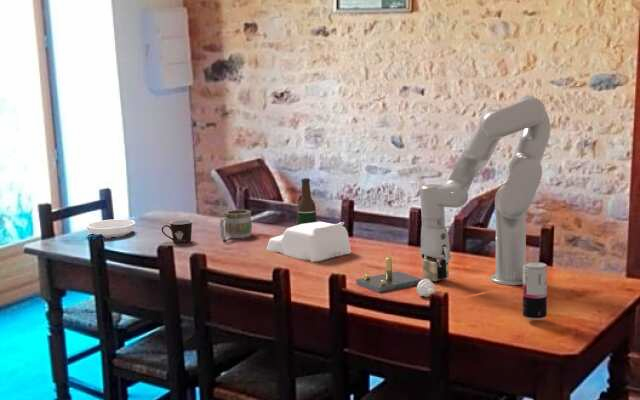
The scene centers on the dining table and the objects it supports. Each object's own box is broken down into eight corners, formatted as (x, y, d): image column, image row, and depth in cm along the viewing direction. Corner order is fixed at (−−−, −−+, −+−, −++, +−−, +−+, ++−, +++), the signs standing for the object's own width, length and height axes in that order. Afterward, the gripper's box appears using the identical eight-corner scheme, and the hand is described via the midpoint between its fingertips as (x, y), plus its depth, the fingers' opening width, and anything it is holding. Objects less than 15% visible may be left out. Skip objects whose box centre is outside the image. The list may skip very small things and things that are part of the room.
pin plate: (422, 283, 294) (422, 258, 292) (379, 292, 285) (378, 266, 284) (398, 275, 305) (398, 250, 303) (356, 284, 296) (355, 258, 295)
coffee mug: (198, 245, 361) (196, 220, 359) (183, 250, 354) (182, 225, 352) (175, 243, 367) (174, 218, 365) (161, 247, 360) (159, 222, 358)
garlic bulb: (425, 301, 274) (425, 283, 273) (415, 296, 280) (415, 279, 279) (441, 298, 277) (440, 281, 276) (430, 294, 282) (430, 277, 281)
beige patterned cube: (448, 277, 296) (448, 259, 295) (434, 281, 293) (433, 263, 292) (437, 274, 302) (436, 256, 301) (423, 277, 299) (422, 260, 298)
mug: (237, 237, 375) (236, 208, 372) (258, 239, 368) (256, 210, 366) (211, 244, 362) (210, 215, 360) (232, 247, 356) (230, 217, 354)
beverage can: (521, 318, 254) (521, 266, 252) (524, 312, 260) (524, 261, 258) (544, 320, 252) (545, 268, 249) (547, 313, 258) (548, 262, 255)
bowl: (130, 245, 366) (129, 227, 365) (82, 246, 367) (81, 229, 365) (140, 235, 385) (139, 218, 384) (94, 236, 386) (93, 219, 385)
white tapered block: (316, 266, 322) (315, 229, 320) (264, 253, 345) (262, 219, 342) (355, 256, 335) (354, 221, 333) (302, 245, 357) (301, 211, 355)
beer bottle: (303, 239, 366) (301, 180, 361) (294, 236, 372) (292, 178, 368) (320, 237, 369) (318, 178, 365) (311, 234, 376) (309, 176, 372)
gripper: (459, 224, 289) (461, 279, 292) (426, 217, 304) (428, 269, 307) (440, 228, 285) (443, 283, 288) (408, 220, 300) (410, 273, 303)
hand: (435, 275), depth 297 cm, fingers closed on beige patterned cube, 5 cm apart
